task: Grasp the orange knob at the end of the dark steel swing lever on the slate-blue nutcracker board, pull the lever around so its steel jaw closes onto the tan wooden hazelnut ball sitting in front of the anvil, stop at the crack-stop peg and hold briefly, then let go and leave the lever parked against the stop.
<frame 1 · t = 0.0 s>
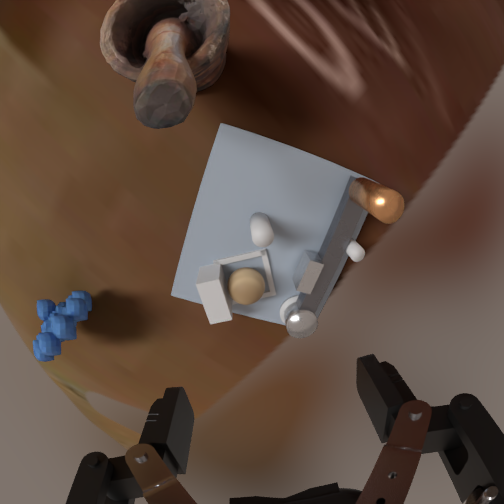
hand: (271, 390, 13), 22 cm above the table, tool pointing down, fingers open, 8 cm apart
hazelnut: (245, 277, 34), point 1 cm above the table, touching nutcracker base
nutcracker base: (271, 236, 34), on the table
mortar and pestle: (198, 73, 27), on the table
lever: (332, 271, 29), point 6 cm above the table, hinge at 0.0°
blue lumpy cluster: (76, 294, 36), on the table
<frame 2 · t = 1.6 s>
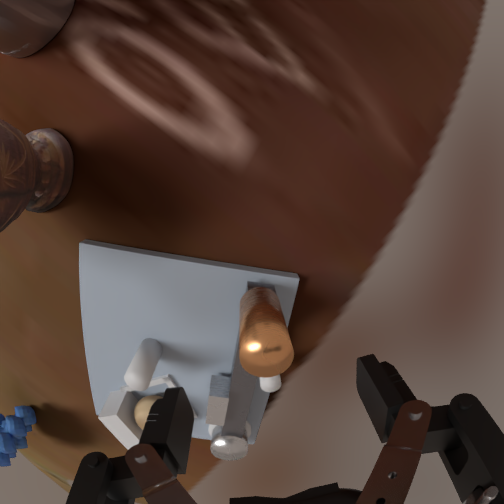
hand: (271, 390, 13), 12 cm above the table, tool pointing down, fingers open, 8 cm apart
hazelnut: (159, 401, 26), point 1 cm above the table, touching nutcracker base
nutcracker base: (176, 358, 26), on the table
mortar and pestle: (53, 182, 22), on the table
lever: (236, 409, 21), point 6 cm above the table, hinge at 0.0°
blue lumpy cluster: (26, 403, 29), on the table
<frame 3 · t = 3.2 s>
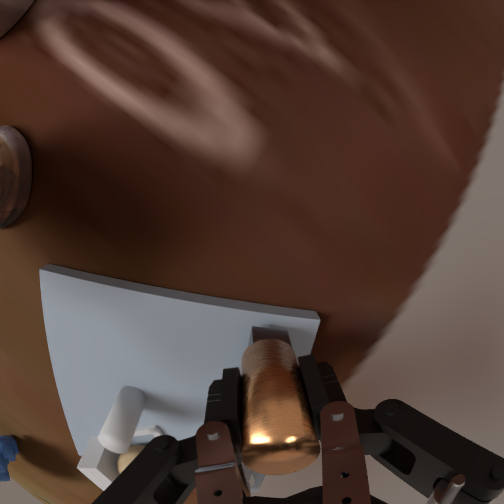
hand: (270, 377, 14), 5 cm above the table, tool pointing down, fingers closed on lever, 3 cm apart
hazelnut: (146, 449, 20), point 1 cm above the table, touching nutcracker base
nutcracker base: (164, 406, 20), on the table
mortar and pestle: (12, 192, 16), on the table
lever: (237, 477, 15), point 6 cm above the table, hinge at 0.0°, touching gripper
blue lumpy cluster: (8, 432, 23), on the table
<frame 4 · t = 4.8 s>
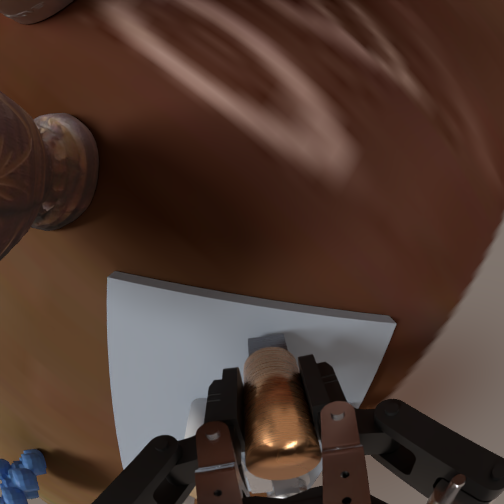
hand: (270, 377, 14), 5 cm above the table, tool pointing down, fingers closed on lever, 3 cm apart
nutcracker base: (232, 415, 20), on the table
mortar and pestle: (68, 189, 16), on the table
lever: (279, 481, 15), point 6 cm above the table, hinge at 18.7°, touching gripper
blue lumpy cluster: (33, 446, 23), on the table
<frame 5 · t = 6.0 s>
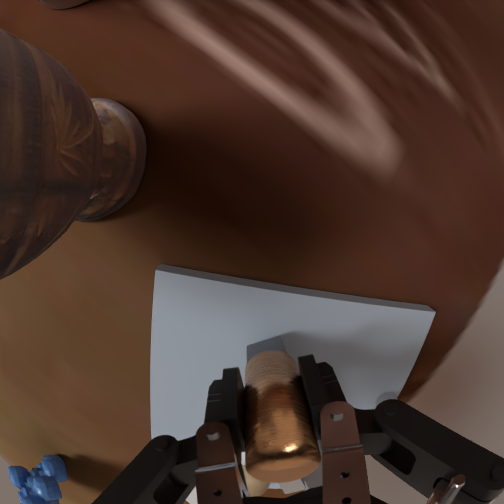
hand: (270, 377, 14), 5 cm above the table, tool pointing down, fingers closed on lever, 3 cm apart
hazelnut: (244, 458, 20), point 1 cm above the table, touching nutcracker base
nutcracker base: (274, 410, 20), on the table
mortar and pestle: (109, 179, 16), on the table
lever: (305, 479, 15), point 6 cm above the table, hinge at 29.9°, touching gripper
blue lumpy cluster: (52, 451, 23), on the table
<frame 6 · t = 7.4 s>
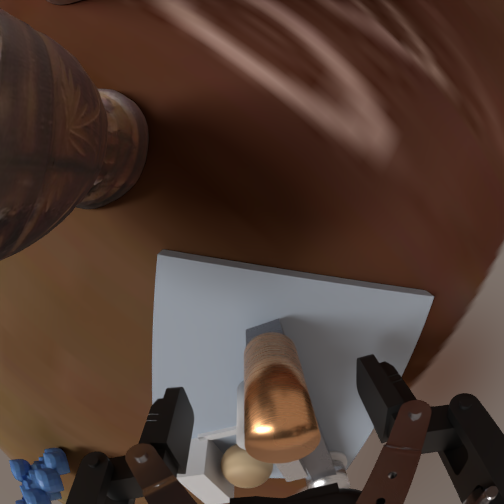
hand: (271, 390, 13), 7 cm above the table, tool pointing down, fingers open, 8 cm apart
hazelnut: (246, 446, 21), point 1 cm above the table, touching nutcracker base
nutcracker base: (276, 397, 21), on the table
mortar and pestle: (112, 167, 17), on the table
lever: (307, 465, 15), point 6 cm above the table, hinge at 30.3°
blue lumpy cluster: (54, 444, 23), on the table
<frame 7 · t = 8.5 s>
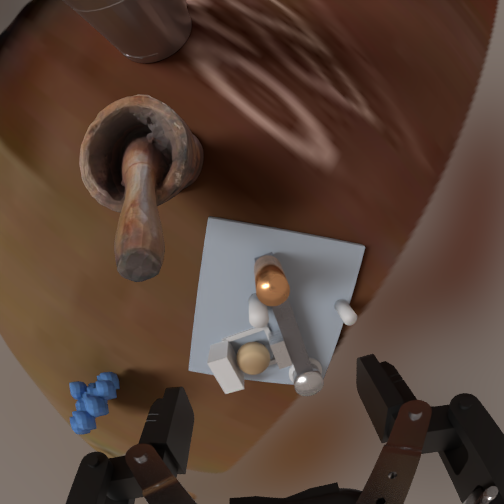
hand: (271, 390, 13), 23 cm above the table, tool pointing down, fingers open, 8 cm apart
hazelnut: (252, 349, 36), point 1 cm above the table, touching nutcracker base
nutcracker base: (271, 311, 36), on the table
mortar and pestle: (181, 170, 32), on the table
lever: (290, 345, 31), point 6 cm above the table, hinge at 30.3°
blue lumpy cluster: (104, 373, 39), on the table
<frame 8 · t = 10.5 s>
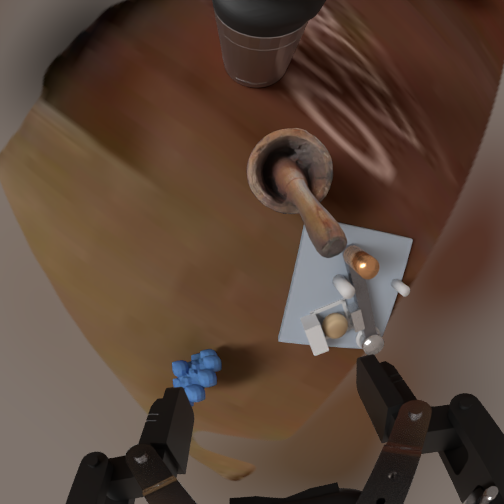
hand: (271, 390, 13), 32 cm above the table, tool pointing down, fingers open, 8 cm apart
hazelnut: (331, 319, 46), point 1 cm above the table, touching nutcracker base
nutcracker base: (346, 288, 46), on the table
mortar and pestle: (284, 179, 42), on the table
lever: (367, 311, 41), point 6 cm above the table, hinge at 30.3°
blue lumpy cluster: (195, 353, 49), on the table
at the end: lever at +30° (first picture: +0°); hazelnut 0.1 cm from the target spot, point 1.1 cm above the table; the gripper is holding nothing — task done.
